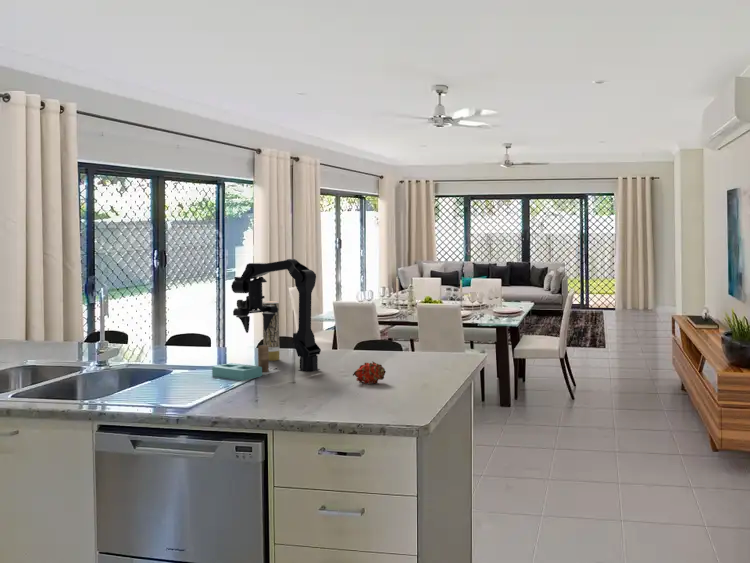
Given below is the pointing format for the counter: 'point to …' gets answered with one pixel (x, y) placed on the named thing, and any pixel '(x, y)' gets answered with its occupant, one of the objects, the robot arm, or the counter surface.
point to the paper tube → (272, 333)
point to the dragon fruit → (370, 373)
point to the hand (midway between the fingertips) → (256, 331)
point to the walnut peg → (263, 357)
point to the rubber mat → (270, 371)
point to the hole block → (237, 371)
